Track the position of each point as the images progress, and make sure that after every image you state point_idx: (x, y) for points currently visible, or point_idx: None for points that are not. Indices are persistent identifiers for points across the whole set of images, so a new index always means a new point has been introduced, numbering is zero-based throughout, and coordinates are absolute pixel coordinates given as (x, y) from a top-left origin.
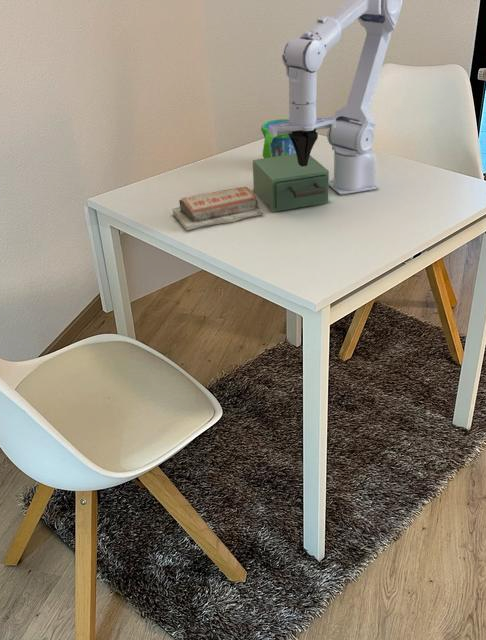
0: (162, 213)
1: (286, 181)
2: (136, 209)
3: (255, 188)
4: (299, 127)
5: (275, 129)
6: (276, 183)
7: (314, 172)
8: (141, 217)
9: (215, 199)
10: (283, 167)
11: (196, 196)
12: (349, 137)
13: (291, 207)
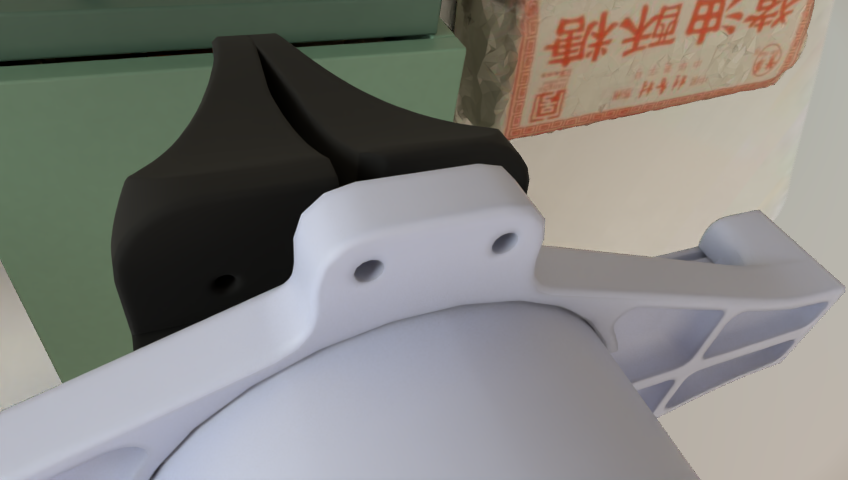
0: (730, 100)
1: (350, 36)
2: (754, 151)
3: None
4: (579, 282)
5: (795, 278)
6: (429, 24)
7: (87, 89)
8: (790, 88)
9: (705, 21)
10: None
11: (737, 78)
12: None
13: None
